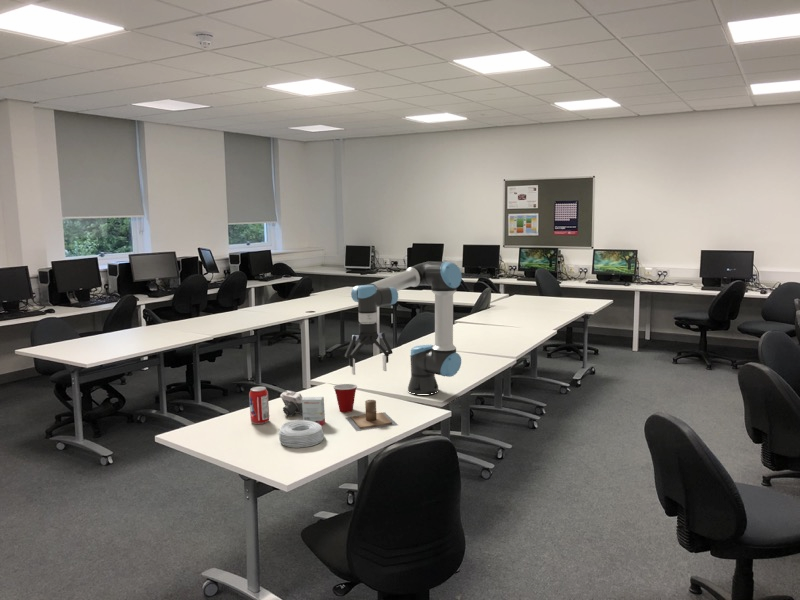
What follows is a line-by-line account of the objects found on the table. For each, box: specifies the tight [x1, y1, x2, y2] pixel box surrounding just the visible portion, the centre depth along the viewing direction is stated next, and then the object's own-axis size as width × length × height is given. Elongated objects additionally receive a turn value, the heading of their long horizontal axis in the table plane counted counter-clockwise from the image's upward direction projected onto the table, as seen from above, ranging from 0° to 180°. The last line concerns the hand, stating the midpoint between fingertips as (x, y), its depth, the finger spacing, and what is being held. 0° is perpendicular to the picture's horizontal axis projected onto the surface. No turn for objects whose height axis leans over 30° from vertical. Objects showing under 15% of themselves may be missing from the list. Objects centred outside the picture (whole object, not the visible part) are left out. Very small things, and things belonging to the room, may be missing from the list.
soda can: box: [248, 386, 270, 425], centre depth 258 cm, size 8×8×15 cm
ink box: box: [302, 396, 326, 427], centre depth 253 cm, size 9×5×12 cm, turn 84°
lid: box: [350, 399, 392, 429], centre depth 254 cm, size 14×14×9 cm
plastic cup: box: [333, 383, 358, 413], centre depth 269 cm, size 11×11×12 cm
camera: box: [280, 390, 305, 417], centre depth 268 cm, size 9×16×10 cm, turn 47°
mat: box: [345, 411, 399, 432], centre depth 254 cm, size 18×18×1 cm
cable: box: [278, 419, 325, 449], centre depth 236 cm, size 18×18×6 cm
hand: (369, 372), depth 251 cm, fingers open, 13 cm apart
